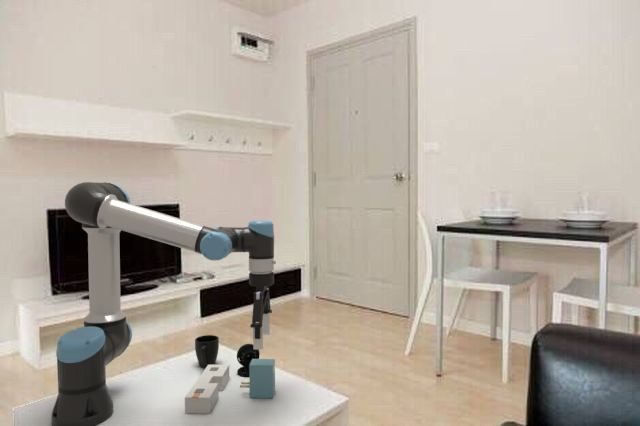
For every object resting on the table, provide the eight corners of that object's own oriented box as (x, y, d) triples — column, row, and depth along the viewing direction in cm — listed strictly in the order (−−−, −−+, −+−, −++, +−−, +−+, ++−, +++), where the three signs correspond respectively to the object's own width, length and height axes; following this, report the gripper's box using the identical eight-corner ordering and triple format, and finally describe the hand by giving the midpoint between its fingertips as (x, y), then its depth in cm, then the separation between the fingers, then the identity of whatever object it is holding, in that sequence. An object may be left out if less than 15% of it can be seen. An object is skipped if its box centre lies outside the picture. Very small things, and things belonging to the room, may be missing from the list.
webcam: (238, 378, 150) (238, 348, 149) (235, 370, 157) (235, 341, 157) (261, 375, 152) (261, 346, 152) (257, 367, 159) (257, 339, 159)
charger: (239, 397, 136) (238, 365, 135) (242, 390, 141) (242, 358, 140) (273, 398, 135) (273, 365, 135) (275, 390, 140) (275, 359, 140)
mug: (190, 373, 154) (189, 346, 154) (198, 360, 166) (198, 335, 166) (214, 373, 154) (213, 345, 154) (221, 360, 166) (220, 334, 166)
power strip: (184, 413, 126) (184, 396, 126) (214, 368, 159) (214, 355, 158) (209, 413, 126) (209, 397, 126) (234, 368, 158) (234, 355, 158)
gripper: (267, 279, 124) (268, 356, 125) (278, 265, 149) (279, 328, 150) (240, 279, 124) (241, 355, 125) (256, 265, 149) (256, 328, 150)
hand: (261, 341), depth 137 cm, fingers open, 13 cm apart
